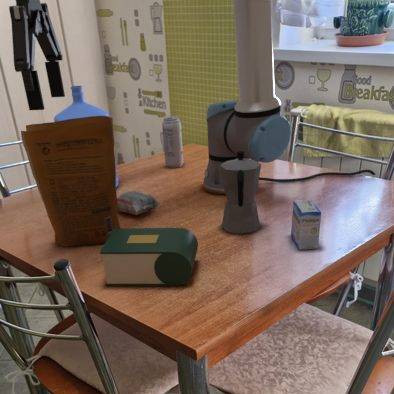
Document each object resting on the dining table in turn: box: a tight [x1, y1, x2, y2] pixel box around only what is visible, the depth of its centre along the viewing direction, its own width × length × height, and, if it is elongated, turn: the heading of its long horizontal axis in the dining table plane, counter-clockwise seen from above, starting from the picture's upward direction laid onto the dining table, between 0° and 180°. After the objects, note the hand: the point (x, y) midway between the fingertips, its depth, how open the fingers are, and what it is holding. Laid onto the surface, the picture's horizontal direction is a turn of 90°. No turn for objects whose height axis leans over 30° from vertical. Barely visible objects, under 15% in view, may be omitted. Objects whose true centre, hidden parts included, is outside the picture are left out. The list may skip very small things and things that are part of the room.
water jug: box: [53, 85, 119, 188], centre depth 150 cm, size 16×16×28 cm
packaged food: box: [117, 190, 161, 216], centre depth 138 cm, size 9×12×5 cm
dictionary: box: [99, 227, 199, 287], centre depth 107 cm, size 18×12×8 cm, turn 84°
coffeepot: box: [220, 151, 262, 235], centre depth 121 cm, size 15×9×18 cm, turn 176°
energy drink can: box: [161, 115, 184, 169], centre depth 169 cm, size 6×6×15 cm
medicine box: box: [290, 199, 322, 251], centre depth 115 cm, size 8×4×9 cm, turn 5°
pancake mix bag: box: [20, 116, 121, 248], centre depth 116 cm, size 7×19×28 cm, turn 96°
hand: (48, 103), depth 103 cm, fingers open, 13 cm apart
